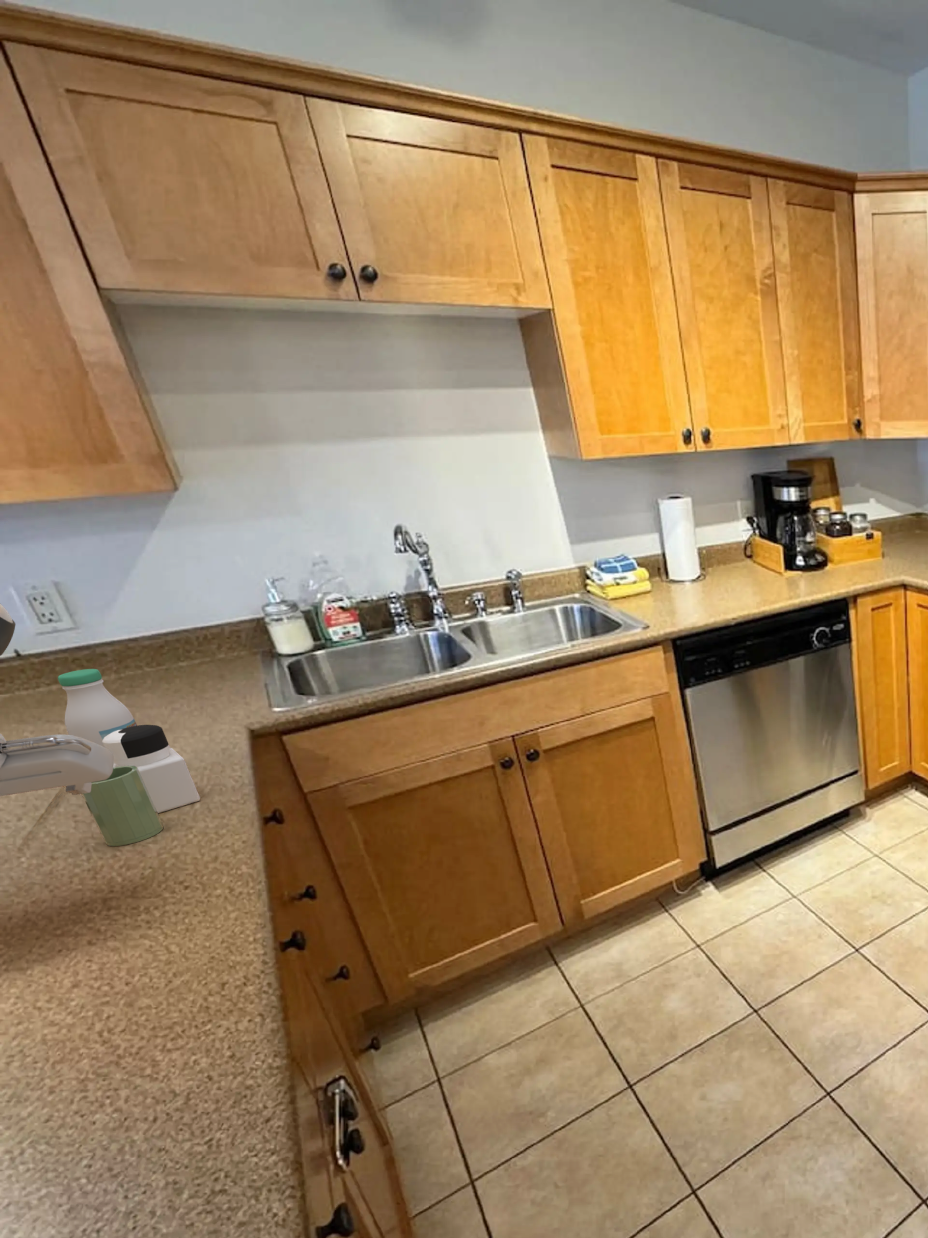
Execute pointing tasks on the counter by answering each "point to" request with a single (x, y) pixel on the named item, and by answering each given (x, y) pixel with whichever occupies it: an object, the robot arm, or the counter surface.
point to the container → (154, 764)
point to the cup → (123, 808)
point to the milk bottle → (92, 707)
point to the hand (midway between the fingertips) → (31, 796)
